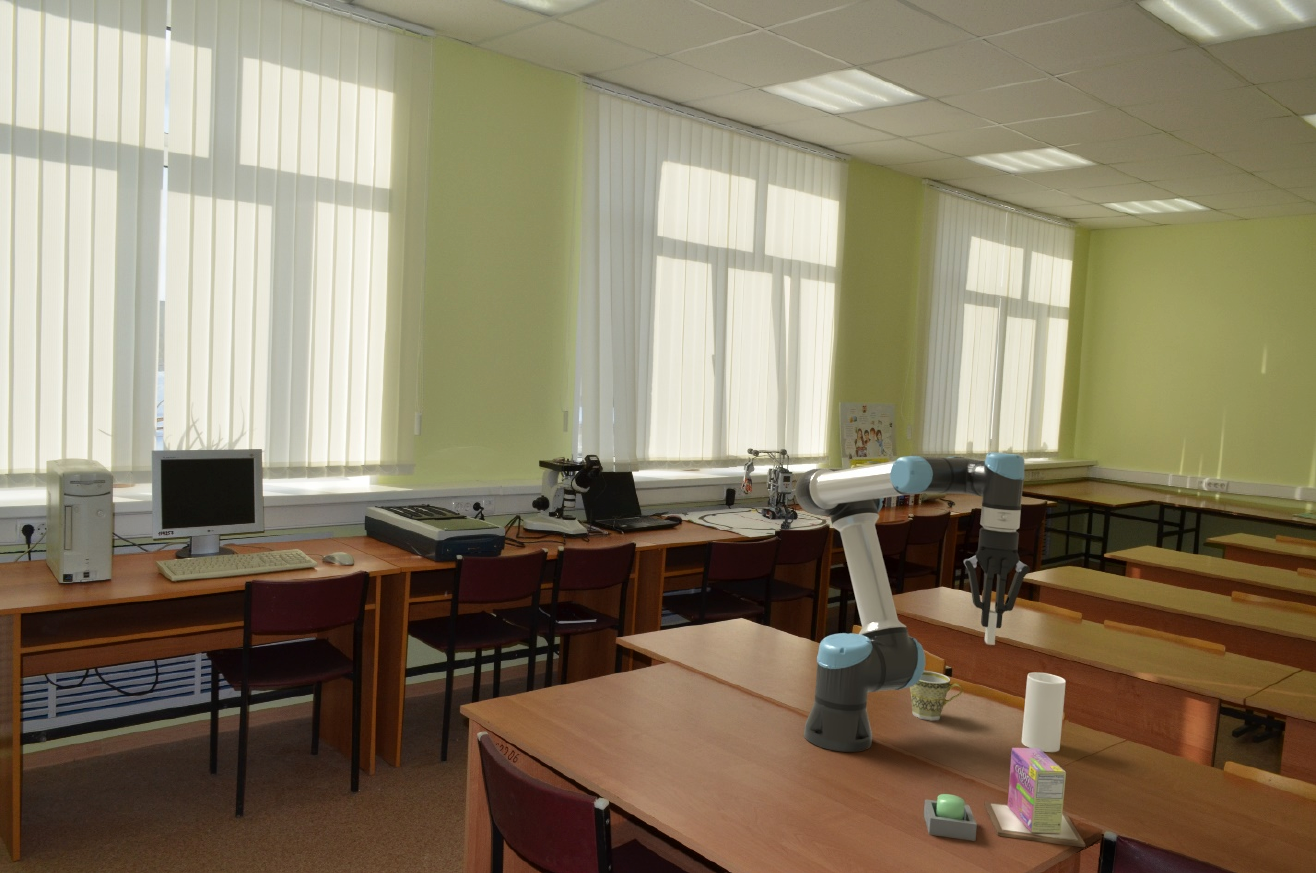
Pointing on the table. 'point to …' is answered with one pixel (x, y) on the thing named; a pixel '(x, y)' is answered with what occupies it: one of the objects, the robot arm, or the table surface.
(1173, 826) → the table surface
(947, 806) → the button
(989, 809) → the clipboard
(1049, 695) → the cup
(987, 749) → the table surface
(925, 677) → the ceramic cup
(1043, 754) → the box
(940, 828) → the button housing
